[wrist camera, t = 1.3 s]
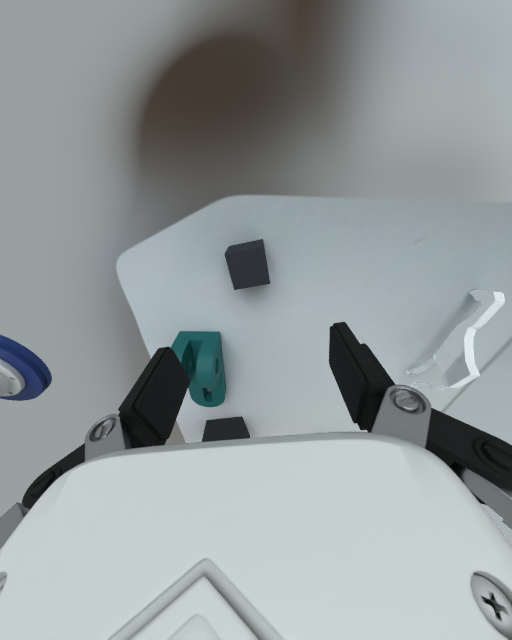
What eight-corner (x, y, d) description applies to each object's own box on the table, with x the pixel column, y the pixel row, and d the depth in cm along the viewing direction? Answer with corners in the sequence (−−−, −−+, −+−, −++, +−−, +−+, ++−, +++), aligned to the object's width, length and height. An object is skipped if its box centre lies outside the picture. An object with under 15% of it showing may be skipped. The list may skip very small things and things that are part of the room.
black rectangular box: (206, 420, 47) (192, 484, 37) (242, 416, 46) (237, 481, 36) (217, 438, 52) (207, 499, 42) (249, 435, 51) (248, 497, 41)
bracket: (179, 331, 32) (160, 366, 26) (219, 331, 32) (210, 366, 26) (196, 397, 42) (185, 434, 36) (227, 397, 42) (221, 435, 36)
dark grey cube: (228, 246, 25) (224, 253, 22) (262, 239, 24) (263, 245, 21) (237, 278, 27) (234, 290, 24) (268, 272, 27) (269, 283, 24)
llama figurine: (399, 342, 41) (495, 283, 27) (422, 397, 35) (565, 359, 20) (391, 341, 41) (483, 281, 27) (413, 397, 35) (549, 358, 20)
